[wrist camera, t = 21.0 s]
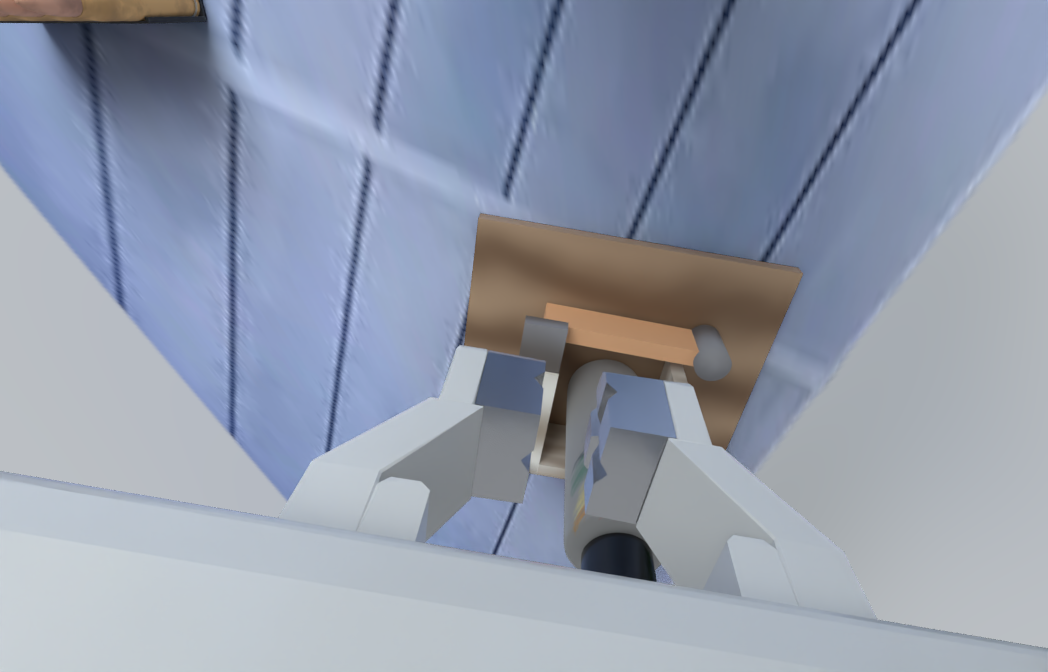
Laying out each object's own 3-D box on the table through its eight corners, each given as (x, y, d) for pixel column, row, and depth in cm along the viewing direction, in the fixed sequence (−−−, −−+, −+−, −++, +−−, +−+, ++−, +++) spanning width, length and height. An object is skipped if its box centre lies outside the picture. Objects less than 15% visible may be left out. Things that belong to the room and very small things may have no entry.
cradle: (480, 213, 38) (465, 244, 33) (798, 267, 39) (832, 307, 33) (455, 436, 49) (440, 487, 43) (707, 479, 49) (722, 535, 44)
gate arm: (725, 328, 40) (737, 354, 37) (713, 356, 41) (724, 384, 38) (548, 295, 40) (546, 318, 37) (542, 324, 41) (539, 349, 38)
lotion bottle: (611, 428, 46) (632, 684, 28) (552, 395, 44) (537, 640, 27) (656, 381, 43) (711, 631, 26) (595, 344, 42) (609, 580, 24)
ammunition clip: (199, -15, 33) (27, -26, 23) (208, 22, 34) (46, 26, 24) (28, -15, 34) (-216, -26, 23) (41, 21, 35) (-187, 25, 24)
